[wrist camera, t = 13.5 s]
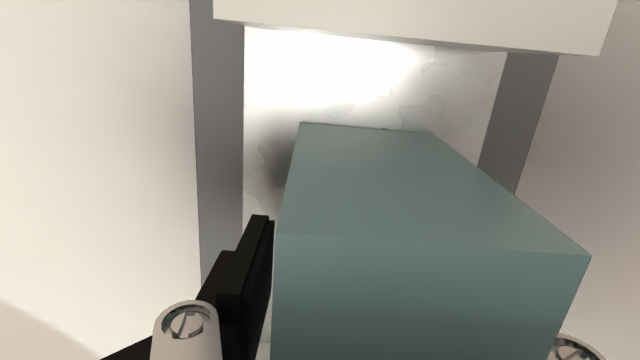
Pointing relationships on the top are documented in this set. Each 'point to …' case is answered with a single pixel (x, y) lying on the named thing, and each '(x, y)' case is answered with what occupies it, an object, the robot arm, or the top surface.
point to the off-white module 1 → (263, 351)
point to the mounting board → (340, 111)
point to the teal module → (411, 255)
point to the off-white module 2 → (439, 22)
